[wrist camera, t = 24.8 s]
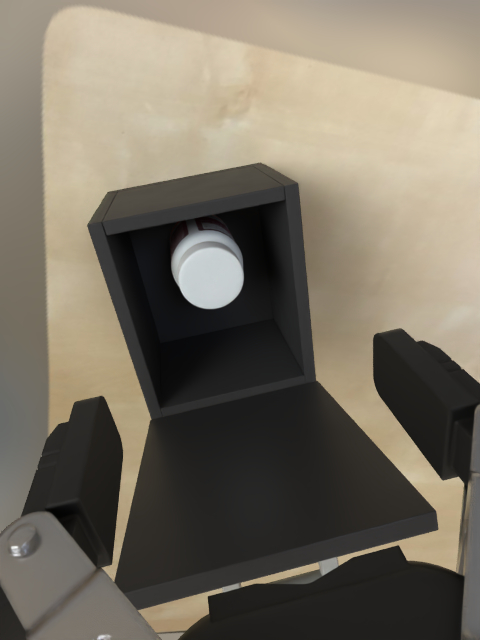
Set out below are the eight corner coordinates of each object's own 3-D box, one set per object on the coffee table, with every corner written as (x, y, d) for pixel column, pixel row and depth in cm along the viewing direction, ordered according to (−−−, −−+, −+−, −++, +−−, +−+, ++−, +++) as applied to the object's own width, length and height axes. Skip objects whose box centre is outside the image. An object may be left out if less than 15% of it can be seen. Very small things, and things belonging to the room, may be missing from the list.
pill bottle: (186, 279, 34) (192, 327, 27) (158, 226, 32) (157, 262, 24) (240, 254, 34) (261, 296, 27) (215, 199, 32) (232, 227, 24)
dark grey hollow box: (107, 192, 31) (86, 224, 22) (261, 162, 32) (298, 182, 23) (153, 348, 37) (151, 420, 29) (281, 320, 38) (316, 382, 30)
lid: (110, 596, 14) (146, 714, 15) (436, 511, 15) (450, 628, 16) (150, 419, 28) (167, 487, 29) (317, 380, 29) (328, 447, 30)
